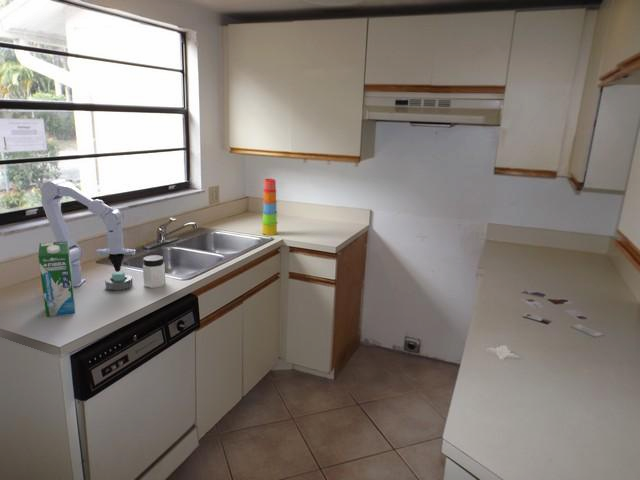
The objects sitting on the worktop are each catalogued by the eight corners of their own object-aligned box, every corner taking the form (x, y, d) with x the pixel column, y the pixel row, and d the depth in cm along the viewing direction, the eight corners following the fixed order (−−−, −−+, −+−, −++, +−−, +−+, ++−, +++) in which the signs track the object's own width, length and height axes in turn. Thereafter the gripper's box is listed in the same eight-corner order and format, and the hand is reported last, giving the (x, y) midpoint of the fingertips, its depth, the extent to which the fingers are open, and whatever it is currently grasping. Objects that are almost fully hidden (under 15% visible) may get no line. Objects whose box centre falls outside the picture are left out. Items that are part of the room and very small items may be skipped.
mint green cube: (110, 286, 185) (110, 275, 184) (115, 281, 190) (114, 271, 189) (123, 286, 185) (122, 276, 184) (127, 281, 190) (126, 272, 189)
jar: (146, 289, 186) (144, 262, 183) (141, 283, 193) (140, 256, 190) (168, 285, 191) (166, 259, 188) (163, 279, 198) (161, 254, 195)
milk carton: (46, 316, 158) (37, 249, 152) (47, 307, 166) (39, 242, 159) (75, 312, 162) (67, 247, 156) (75, 303, 170) (68, 240, 163)
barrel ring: (102, 291, 183) (101, 283, 182) (110, 282, 192) (109, 274, 191) (128, 290, 184) (128, 283, 183) (135, 282, 194) (134, 274, 193)
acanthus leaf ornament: (486, 351, 148) (486, 346, 148) (501, 348, 151) (502, 343, 151) (502, 362, 142) (503, 357, 141) (519, 359, 144) (519, 354, 144)
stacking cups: (281, 233, 283) (282, 179, 274) (269, 236, 276) (270, 180, 266) (269, 230, 290) (270, 177, 280) (258, 233, 282) (258, 178, 273)
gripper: (93, 242, 178) (96, 274, 181) (131, 242, 180) (133, 274, 184) (99, 237, 185) (102, 268, 188) (135, 237, 187) (137, 268, 190)
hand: (117, 270), depth 186 cm, fingers closed
